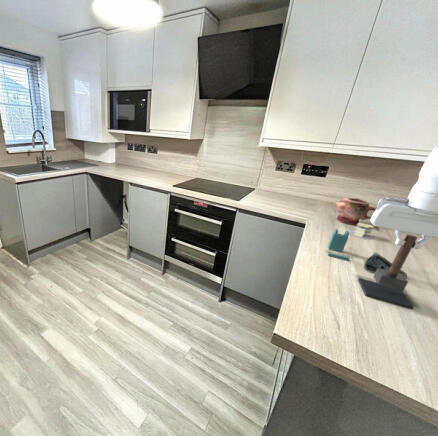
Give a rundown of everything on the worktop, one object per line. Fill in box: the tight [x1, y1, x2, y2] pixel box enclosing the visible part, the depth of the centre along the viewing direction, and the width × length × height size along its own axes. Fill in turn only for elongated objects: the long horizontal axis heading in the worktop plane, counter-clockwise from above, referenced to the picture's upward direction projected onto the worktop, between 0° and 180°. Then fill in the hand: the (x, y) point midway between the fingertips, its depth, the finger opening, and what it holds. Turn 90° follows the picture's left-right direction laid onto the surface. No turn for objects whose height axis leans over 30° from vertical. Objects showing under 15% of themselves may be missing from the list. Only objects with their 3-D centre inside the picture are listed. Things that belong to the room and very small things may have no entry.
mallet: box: [373, 233, 418, 292], centre depth 72 cm, size 6×14×14 cm
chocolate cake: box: [363, 252, 408, 280], centre depth 90 cm, size 10×7×12 cm
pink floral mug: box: [334, 197, 377, 226], centre depth 137 cm, size 20×12×14 cm, turn 47°
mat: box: [357, 277, 415, 310], centre depth 76 cm, size 11×10×1 cm
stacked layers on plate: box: [348, 222, 376, 241], centre depth 121 cm, size 10×9×6 cm
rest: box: [327, 228, 350, 261], centre depth 100 cm, size 7×10×9 cm
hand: (407, 246), depth 70 cm, fingers closed on mallet, 2 cm apart
